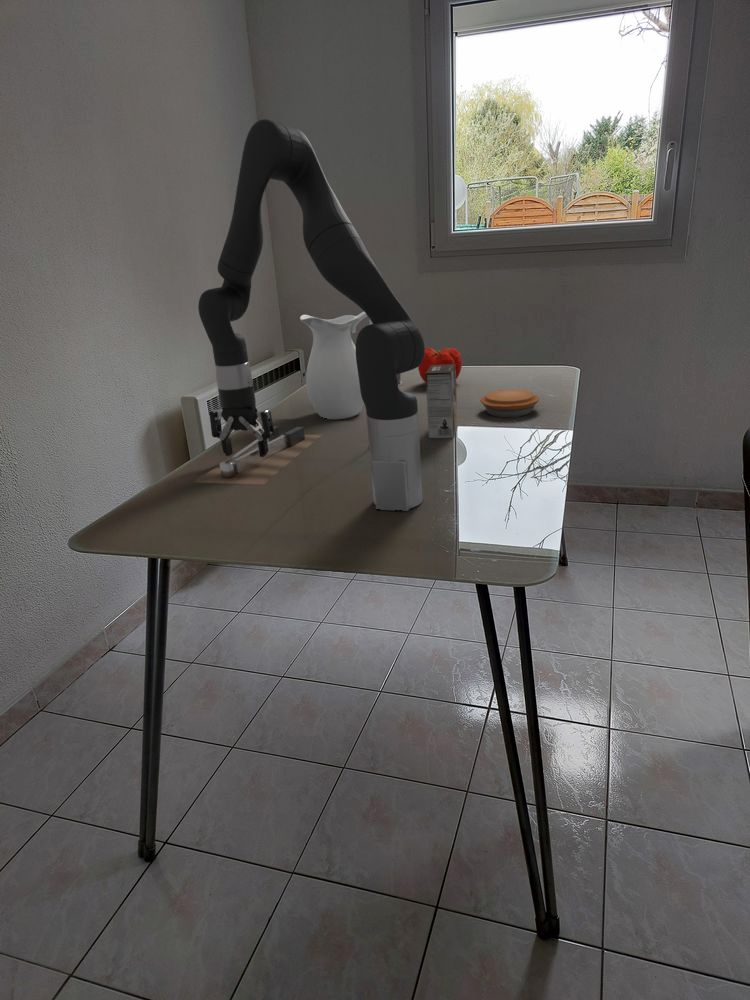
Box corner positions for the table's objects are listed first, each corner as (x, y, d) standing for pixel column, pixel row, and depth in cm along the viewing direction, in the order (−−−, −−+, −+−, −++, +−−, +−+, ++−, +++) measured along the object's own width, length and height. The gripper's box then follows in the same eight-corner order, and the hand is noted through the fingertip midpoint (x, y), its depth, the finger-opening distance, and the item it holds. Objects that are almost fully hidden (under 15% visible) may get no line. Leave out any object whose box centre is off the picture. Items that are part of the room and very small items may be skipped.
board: (263, 491, 136) (262, 484, 136) (195, 488, 141) (193, 482, 140) (322, 440, 166) (321, 434, 166) (264, 439, 171) (263, 434, 170)
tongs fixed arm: (231, 478, 141) (228, 465, 139) (217, 478, 141) (214, 465, 140) (285, 438, 165) (283, 426, 164) (273, 437, 166) (271, 426, 165)
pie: (510, 401, 188) (510, 383, 186) (551, 411, 176) (552, 392, 174) (468, 412, 181) (467, 394, 179) (508, 423, 168) (508, 404, 167)
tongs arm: (241, 473, 143) (239, 460, 142) (234, 472, 144) (232, 459, 143) (304, 439, 163) (303, 427, 162) (298, 438, 164) (297, 426, 163)
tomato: (415, 389, 209) (413, 352, 205) (425, 379, 222) (424, 343, 217) (457, 389, 205) (456, 351, 201) (465, 379, 218) (464, 342, 213)
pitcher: (316, 426, 179) (304, 320, 168) (304, 411, 194) (293, 313, 183) (400, 413, 184) (394, 309, 174) (383, 400, 200) (376, 304, 189)
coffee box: (432, 427, 170) (430, 364, 163) (457, 427, 168) (456, 363, 162) (428, 438, 161) (425, 372, 155) (454, 438, 160) (452, 371, 154)
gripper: (197, 388, 142) (210, 460, 148) (257, 388, 138) (268, 461, 144) (214, 380, 149) (226, 449, 155) (272, 379, 145) (282, 450, 151)
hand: (246, 455), depth 149 cm, fingers open, 8 cm apart
